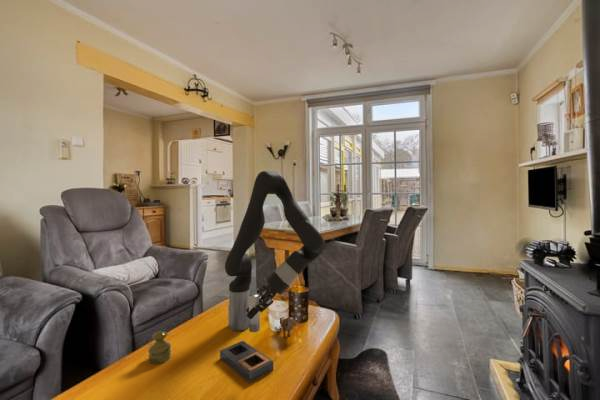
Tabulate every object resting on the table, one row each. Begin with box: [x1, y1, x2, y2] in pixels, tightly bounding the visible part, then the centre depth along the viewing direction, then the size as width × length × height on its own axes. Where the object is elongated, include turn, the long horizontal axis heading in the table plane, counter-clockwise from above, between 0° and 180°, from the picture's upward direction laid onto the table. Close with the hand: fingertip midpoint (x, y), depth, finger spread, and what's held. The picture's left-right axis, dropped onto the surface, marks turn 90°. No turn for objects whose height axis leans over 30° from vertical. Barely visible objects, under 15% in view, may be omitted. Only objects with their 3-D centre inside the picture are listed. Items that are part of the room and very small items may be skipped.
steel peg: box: [248, 293, 261, 333], centre depth 99 cm, size 4×4×12 cm
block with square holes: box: [219, 340, 274, 384], centre depth 103 cm, size 19×10×3 cm, turn 45°
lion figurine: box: [276, 316, 298, 339], centre depth 125 cm, size 15×5×9 cm, turn 35°
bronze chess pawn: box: [148, 330, 172, 365], centre depth 105 cm, size 7×7×10 cm
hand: (248, 314), depth 98 cm, fingers closed on steel peg, 3 cm apart
